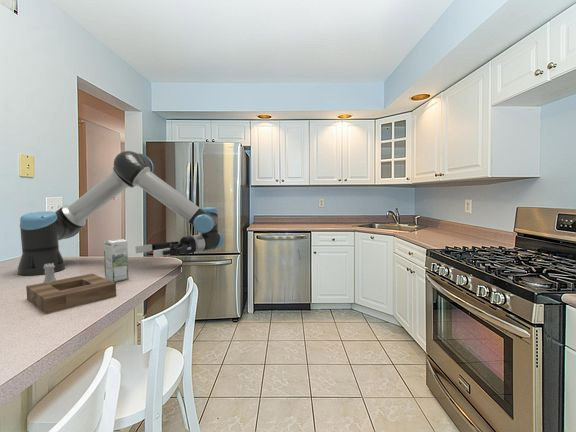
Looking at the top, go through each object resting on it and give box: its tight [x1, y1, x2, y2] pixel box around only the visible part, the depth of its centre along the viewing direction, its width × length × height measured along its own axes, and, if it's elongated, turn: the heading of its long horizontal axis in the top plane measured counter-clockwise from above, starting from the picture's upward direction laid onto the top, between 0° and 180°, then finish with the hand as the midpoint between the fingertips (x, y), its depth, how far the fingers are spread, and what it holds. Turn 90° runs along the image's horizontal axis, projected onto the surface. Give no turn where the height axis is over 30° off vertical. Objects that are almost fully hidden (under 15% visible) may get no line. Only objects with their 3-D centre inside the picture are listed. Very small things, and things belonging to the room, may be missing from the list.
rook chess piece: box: [42, 263, 57, 283], centre depth 107 cm, size 4×4×8 cm
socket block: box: [25, 273, 117, 315], centre depth 98 cm, size 18×18×4 cm
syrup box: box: [103, 238, 129, 283], centre depth 116 cm, size 6×6×14 cm
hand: (144, 252), depth 124 cm, fingers open, 13 cm apart
